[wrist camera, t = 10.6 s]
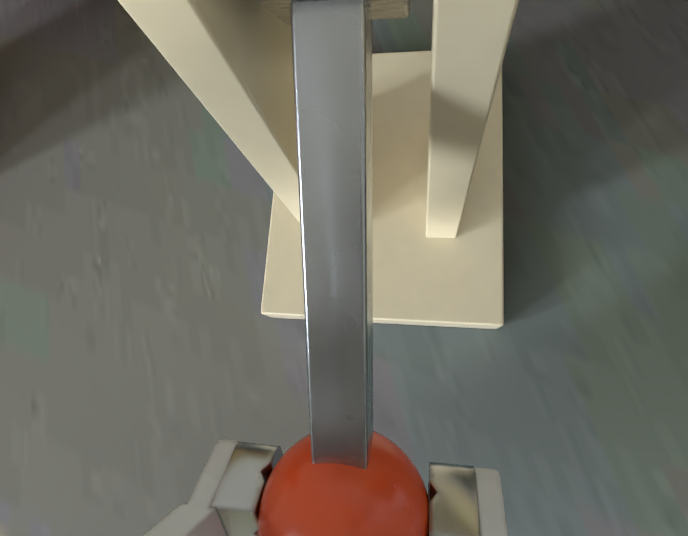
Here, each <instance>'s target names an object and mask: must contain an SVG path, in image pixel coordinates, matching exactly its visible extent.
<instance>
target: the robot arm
mask: <svg viewBox="0 0 688 536" xmlns="http://www.w3.org/2000/svg"><path fill="white" fill-rule="evenodd" d="M282 456H283V454H282V450H281V447H280V446H273V445H265V444H256V443H247V442H241V441H232V440H222V439H220V440H219V441H218V442H217V443H216V445H215V446H214V448H213V450H212V452H211V454H210V456H209V459H208V461H207V463H206V465H205V467H204V469H203V472H202V474H201V476H200V478H199V480H198V482H197V484H196V487H195V489H194V491H193V493H192V495H191V497H190V500H189V502H188V504H183V503H182V504H180V505H179V506H178V507H177V508H176V509H174V510H173V511H172V512H171V513H170V514H168V515H167V516H166V517H165V518H164V519H163V520H161V521H160V522H159V523H158V524H157V525H155V526H154V527H153V528H152V529H151V530H149V531H148V532H147V533H146V534H145V535H143V536H259V535H258V514H259V508H260V502H261V497H262V494H263V491H264V488H265V485H266V482H267V480H268V478H269V476H270V474H271V472H272V470H273V469H274V467H275V465H276V464H277V462H278V461H279V460H280V458H281V457H282ZM428 498H429V536H508V532H507V524H506V516H505V509H504V501H503V493H502V485H501V478H500V474H499V472H498V470H497V469H490V468H480V467H474V466H465V465H454V464H443V463H432V462H430V464H429V482H428Z"/></svg>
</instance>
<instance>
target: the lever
mask: <svg viewBox="0 0 688 536" xmlns="http://www.w3.org/2000/svg"><path fill="white" fill-rule="evenodd" d="M255 1H257V2H258V3H259V4H260V5H262V6H263V7H264V8H266V9H267V10H268V11H270V12H271V13H272V14H274V15H275V16H276V17H277V18H279V19H280V20H281V21H283V22H284V23H285V24H287V25H291V40H292V61H293V82H294V103H295V123H296V144H297V165H298V186H299V207H300V228H301V249H302V270H303V291H304V312H305V333H306V354H307V374H308V395H309V416H310V434H309V435H307V436H305V437H304V438H302V439H301V440H299V441H298V442H297V443H295V444H294V445H293V446H292V447H291V448H290V449H289V450H287V451H286V452H285V454H284V455H283V456H282V457H281V458H280V460H279V461H278V462H277V464H276V465H275V467H274V469H273V470H272V472H271V474H270V476H269V478H268V480H267V482H266V485H265V488H264V491H263V494H262V497H261V502H260V508H259V514H258V535H259V536H429V498H428V494H427V491H426V488H425V485H424V482H423V480H422V478H421V476H420V474H419V472H418V470H417V469H416V467H415V466H414V464H413V463H412V461H411V460H410V459H409V457H408V456H407V455H406V454H405V453H404V452H403V451H402V450H401V449H400V448H399V447H398V446H397V445H396V444H395V443H393V442H392V441H390V440H389V439H387V438H386V437H384V436H383V435H381V434H379V433H377V432H374V431H373V199H372V20H373V19H389V18H404V17H407V16H408V15H409V0H255Z"/></svg>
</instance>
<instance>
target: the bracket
mask: <svg viewBox="0 0 688 536" xmlns="http://www.w3.org/2000/svg"><path fill="white" fill-rule="evenodd" d="M118 1H119V3H120V4H121V5H122V6H123V7H124V9H125V10H126V11H127V12H128V14H129V15H130V16H131V17H132V18H133V20H134V21H135V22H136V23H137V25H138V26H139V27H140V28H141V29H142V31H143V32H144V33H145V34H146V36H147V37H148V38H149V39H150V40H151V42H152V43H153V44H154V45H155V47H156V48H157V49H158V50H159V51H160V53H161V54H162V55H163V56H164V58H165V59H166V60H167V61H168V62H169V64H170V65H171V66H172V67H173V69H174V70H175V71H176V72H177V73H178V75H179V76H180V77H181V78H182V80H183V81H184V82H185V83H186V84H187V86H188V87H189V88H190V89H191V91H192V92H193V93H194V94H195V95H196V97H197V98H198V99H199V100H200V102H201V103H202V104H203V105H204V106H205V108H206V109H207V110H208V111H209V113H210V114H211V115H212V116H213V117H214V119H215V120H216V121H217V122H218V124H219V125H220V126H221V127H222V128H223V130H224V131H225V132H226V133H227V135H228V136H229V137H230V138H231V139H232V141H233V142H234V143H235V144H236V146H237V147H238V148H239V149H240V150H241V152H242V153H243V154H244V155H245V157H246V158H247V159H248V160H249V161H250V163H251V164H252V165H253V166H254V168H255V169H256V170H257V171H258V172H259V174H260V175H261V176H262V177H263V179H264V180H265V181H266V182H267V183H268V185H269V186H270V187H271V188H272V190H273V191H274V193H273V202H272V212H271V221H270V231H269V240H268V249H267V259H266V268H265V278H264V287H263V297H262V306H261V313H262V314H264V315H267V316H270V317H273V318H292V319H305V312H304V291H303V270H302V249H301V228H300V207H299V186H298V165H297V144H296V123H295V103H294V82H293V61H292V40H291V25H287V24H285V23H284V22H283V21H281V20H280V19H279V18H277V17H276V16H275V15H274V14H272V13H271V12H270V11H268V10H267V9H266V8H264V7H263V6H262V5H260V4H259V3H258V2H257V1H255V0H118ZM518 3H519V0H433V19H432V49H431V51H414V52H395V53H375V54H372V199H373V323H389V324H408V325H428V326H447V327H466V328H486V329H497V328H499V327H501V326H503V324H504V276H503V127H502V63H503V59H504V55H505V51H506V48H507V44H508V40H509V36H510V33H511V29H512V25H513V21H514V18H515V14H516V10H517V6H518Z"/></svg>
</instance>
